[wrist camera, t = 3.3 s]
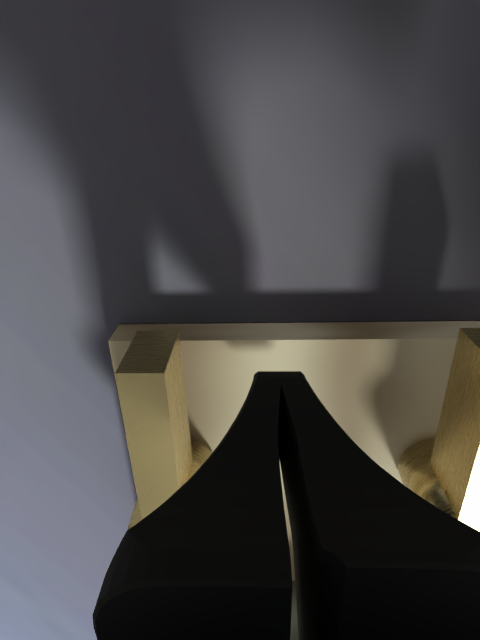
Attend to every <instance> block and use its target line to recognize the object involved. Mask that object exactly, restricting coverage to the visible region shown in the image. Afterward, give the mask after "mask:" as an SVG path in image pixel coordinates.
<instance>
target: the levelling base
mask: <svg viewBox="0 0 480 640" xmlns="http://www.w3.org/2000/svg"><path fill="white" fill-rule="evenodd" d="M460 328H480V321H432V322H327V323H222V324H119V325H118V327H117V328H116V330H115V331H114V333H113V334H112V336H111V338H110V339H109V341H108V343H109V349H110V354H111V359H112V365H113V370H114V375H115V372H116V370H117V368H118V366H119V364H120V363H121V361H122V359H123V357H124V355H125V353H126V351H127V350H128V348H129V346H130V344H131V342H132V340H133V338H134V337H135V335H136V333H137V331H162V330H179V332H180V342H181V351H182V361H183V371H184V381H185V390H186V400H187V410H188V420H189V429H190V439H193V440H196V441H198V442H200V443H202V444H203V445H205V446H206V447H207V448H208V449H209V450H210V452H211V453H213V451H214V450H215V449H216V447H217V446H218V445H219V443H220V442H221V440H222V439H223V438H224V436H225V435H226V433H227V432H228V430H229V428H230V427H231V425H232V423H233V422H234V420H235V419H236V417H237V415H238V413H239V411H240V409H241V407H242V406H243V404H244V402H245V400H246V397H247V395H248V393H249V390H250V388H251V385H252V382H253V378H254V374H255V373H257V372H258V371H301V372H302V373H303V374H304V375H305V377H306V379H307V381H308V383H309V384H310V386H311V388H312V389H313V391H314V392H315V394H316V395H317V397H318V398H319V400H320V401H321V402H322V404H323V405H324V407H325V408H326V409H327V410H328V412H329V413H330V414H331V416H332V417H333V418H334V419H335V421H336V422H337V423H338V424H339V426H340V427H341V428H342V429H343V430H344V431H345V432H346V433H347V435H348V436H349V437H350V438H351V439H352V440H353V441H354V442H355V443H356V444H357V445H358V446H359V447H360V448H361V449H362V450H363V451H364V452H365V453H366V454H367V455H368V456H369V457H370V458H371V459H372V460H373V461H375V462H376V463H377V464H378V465H379V466H380V467H381V468H383V469H384V470H385V471H387V472H388V473H389V474H390V475H392V476H393V477H394V478H396V479H397V480H398V481H399V482H401V483H402V480H401V477H400V475H399V472H398V462H399V459H400V457H401V455H402V454H403V453H404V451H405V450H407V449H408V448H409V447H410V446H412V445H413V444H415V443H417V442H419V441H422V440H426V439H430V438H435V437H436V433H437V428H438V424H439V419H440V415H441V410H442V406H443V401H444V397H445V392H446V388H447V383H448V379H449V374H450V370H451V365H452V361H453V356H454V352H455V347H456V343H457V338H458V334H459V329H460ZM115 381H116V378H115ZM116 386H117V383H116ZM117 391H118V388H117ZM118 397H119V394H118ZM119 402H120V399H119ZM120 407H121V404H120ZM121 413H122V410H121ZM122 418H123V415H122ZM123 423H124V420H123ZM124 429H125V426H124ZM125 434H126V431H125ZM126 439H127V437H126ZM127 445H128V442H127ZM128 450H129V447H128ZM129 455H130V453H129ZM130 461H131V458H130ZM279 463H280V462H279ZM131 466H132V463H131ZM132 471H133V469H132ZM280 473H281V484H282V493H283V502H284V511H285V518H286V526H287V534H288V541H289V548H290V558H291V571H292V610H291V634H290V640H299V636H298V619H297V602H296V586H295V571H294V556H293V544H292V535H291V528H290V521H289V515H288V509H287V503H286V496H285V490H284V484H283V478H282V471H281V465H280ZM133 477H134V474H133ZM134 482H135V479H134ZM402 484H403V483H402ZM135 487H136V485H135ZM136 492H137V490H136ZM137 497H138V495H137Z"/></svg>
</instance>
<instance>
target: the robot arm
mask: <svg viewBox="0 0 480 640" xmlns="http://www.w3.org/2000/svg"><path fill="white" fill-rule="evenodd" d="M279 462H280V463H279ZM280 465H281V471H282V478H283V484H284V490H285V496H286V503H287V509H288V515H289V521H290V528H291V535H292V544H293V556H294V571H295V586H296V602H297V619H298V636H299V640H480V532H479V531H477V530H475V529H474V528H472V527H470V526H468V525H467V524H465V523H463V522H461V521H460V520H458V519H456V518H454V517H453V516H451V515H449V514H447V513H446V512H444V511H442V510H440V509H439V508H437V507H436V506H434V505H432V504H431V503H429V502H428V501H426V500H425V499H423V498H422V497H420V496H419V495H417V494H416V493H414V492H413V491H412V490H410V489H409V488H407V487H406V486H405V485H403V484H402V483H401V482H399V481H398V480H397V479H396V478H394V477H393V476H392V475H390V474H389V473H388V472H387V471H385V470H384V469H383V468H381V467H380V466H379V465H378V464H377V463H376V462H375V461H373V460H372V459H371V458H370V457H369V456H368V455H367V454H366V453H365V452H364V451H363V450H362V449H361V448H360V447H359V446H358V445H357V444H356V443H355V442H354V441H353V440H352V439H351V438H350V437H349V436H348V435H347V433H346V432H345V431H344V430H343V429H342V428H341V427H340V426H339V424H338V423H337V422H336V421H335V419H334V418H333V417H332V416H331V414H330V413H329V412H328V410H327V409H326V408H325V407H324V405H323V404H322V402H321V401H320V400H319V398H318V397H317V395H316V394H315V392H314V391H313V389H312V388H311V386H310V384H309V383H308V381H307V379H306V377H305V375H304V374H303V373H302V372H301V371H258V372H257V373H255V374H254V378H253V382H252V385H251V388H250V390H249V393H248V395H247V397H246V400H245V402H244V404H243V406H242V407H241V409H240V411H239V413H238V415H237V417H236V419H235V420H234V422H233V423H232V425H231V427H230V428H229V430H228V432H227V433H226V435H225V436H224V438H223V439H222V440H221V442H220V443H219V445H218V446H217V447H216V449H215V450H214V451H213V453H212V454H211V455H210V456H209V458H208V459H207V460H206V461H205V462H204V463H203V464H202V466H201V467H200V468H199V469H198V470H197V471H196V472H195V473H194V475H193V476H192V477H191V478H190V479H189V480H188V481H187V482H186V483H185V484H184V485H182V486H181V487H180V488H179V489H178V490H177V491H176V492H175V493H174V494H173V495H172V496H171V497H169V498H168V499H167V500H166V501H165V502H164V503H163V504H162V505H160V506H159V507H158V508H157V509H155V510H154V511H153V512H151V513H150V514H149V515H148V516H146V517H145V518H144V519H142V520H141V521H140V522H138V523H137V524H136V525H134V526H133V527H131V528H130V529H129V530H127V532H126V534H125V535H124V537H123V539H122V541H121V543H120V545H119V547H118V549H117V551H116V553H115V555H114V557H113V559H112V561H111V564H110V566H109V568H108V570H107V573H106V575H105V578H104V581H103V584H102V587H101V591H100V594H99V597H98V600H97V603H96V607H95V610H94V613H93V624H94V630H95V633H96V636H97V640H290V634H291V610H292V571H291V558H290V548H289V541H288V534H287V526H286V518H285V511H284V502H283V493H282V484H281V473H280Z"/></svg>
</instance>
